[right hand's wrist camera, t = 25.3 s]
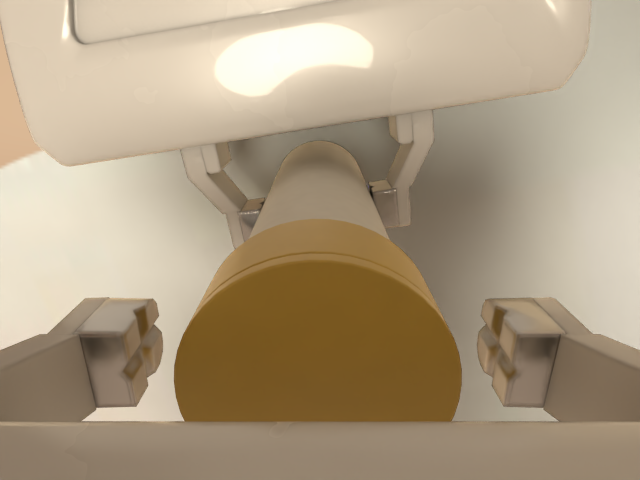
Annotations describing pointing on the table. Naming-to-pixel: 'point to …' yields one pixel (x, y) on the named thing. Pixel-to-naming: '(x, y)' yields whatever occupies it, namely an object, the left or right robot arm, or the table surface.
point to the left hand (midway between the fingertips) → (323, 233)
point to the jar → (319, 190)
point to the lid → (318, 334)
